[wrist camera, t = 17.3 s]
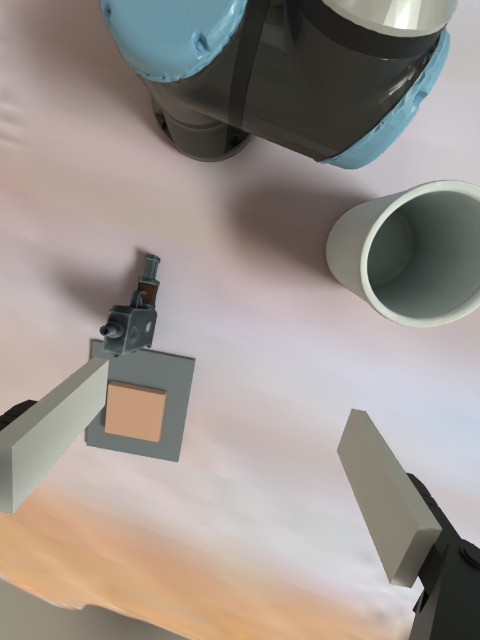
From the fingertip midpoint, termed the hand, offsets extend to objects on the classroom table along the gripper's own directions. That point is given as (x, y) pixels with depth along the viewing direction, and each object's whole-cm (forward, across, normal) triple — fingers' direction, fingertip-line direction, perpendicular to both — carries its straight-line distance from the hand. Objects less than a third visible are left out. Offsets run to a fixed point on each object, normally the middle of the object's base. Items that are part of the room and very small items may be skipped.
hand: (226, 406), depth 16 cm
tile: (+33, -15, -21) cm, 42 cm away
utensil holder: (+35, +18, +10) cm, 41 cm away
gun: (+35, -15, -5) cm, 38 cm away
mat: (+35, -14, -25) cm, 45 cm away
